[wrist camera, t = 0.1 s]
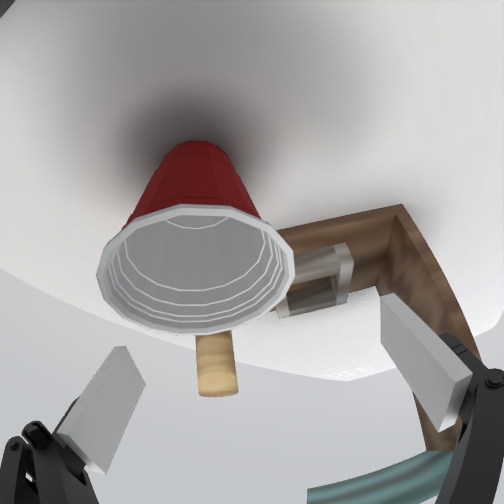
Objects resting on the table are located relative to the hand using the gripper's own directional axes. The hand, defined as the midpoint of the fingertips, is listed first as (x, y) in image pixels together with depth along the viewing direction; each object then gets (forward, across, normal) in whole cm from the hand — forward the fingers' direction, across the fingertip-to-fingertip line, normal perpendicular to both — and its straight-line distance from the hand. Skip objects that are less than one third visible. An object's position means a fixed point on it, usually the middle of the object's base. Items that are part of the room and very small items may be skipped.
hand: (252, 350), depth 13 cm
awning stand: (+22, +8, -4) cm, 24 cm away
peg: (+24, -8, -7) cm, 26 cm away
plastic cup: (+12, -2, +10) cm, 16 cm away
